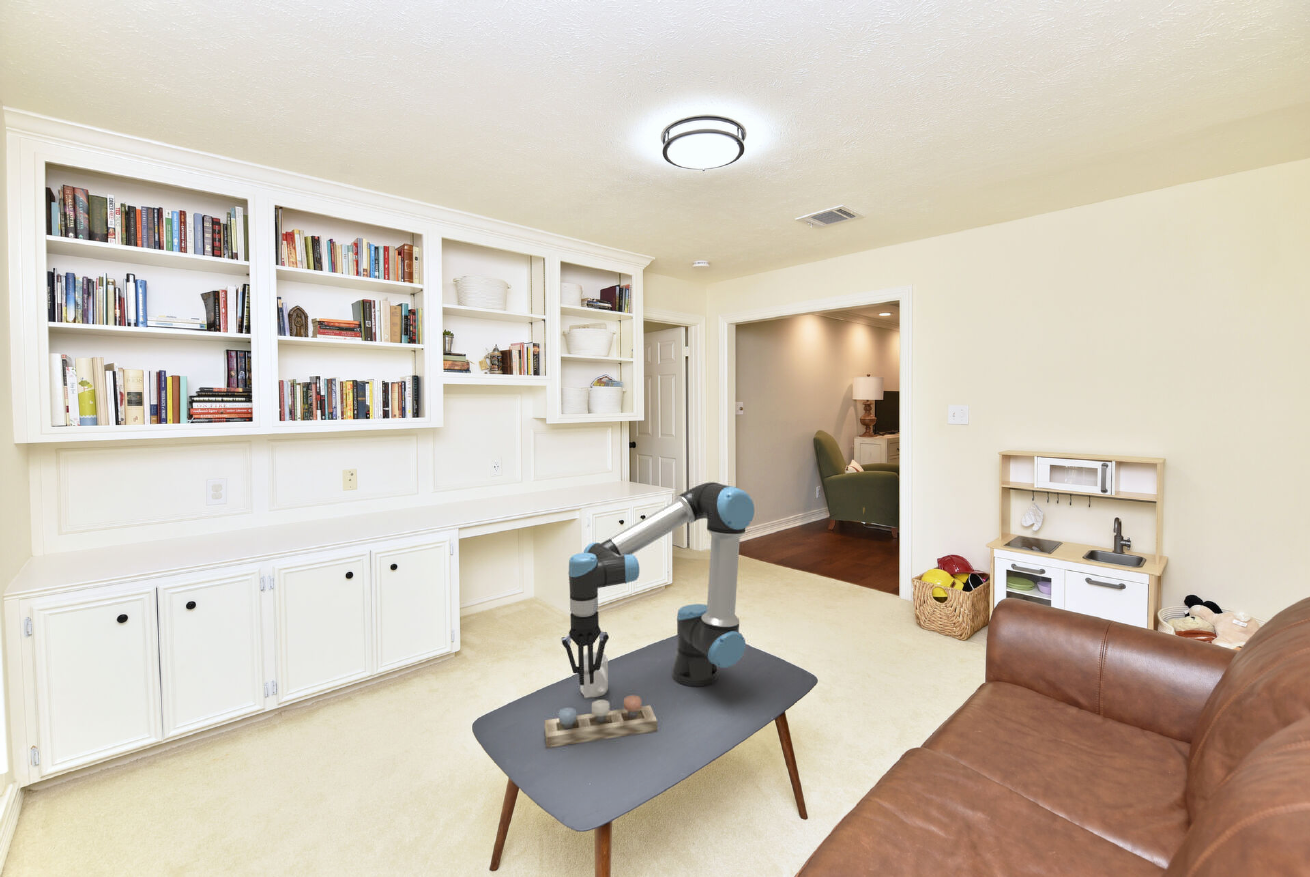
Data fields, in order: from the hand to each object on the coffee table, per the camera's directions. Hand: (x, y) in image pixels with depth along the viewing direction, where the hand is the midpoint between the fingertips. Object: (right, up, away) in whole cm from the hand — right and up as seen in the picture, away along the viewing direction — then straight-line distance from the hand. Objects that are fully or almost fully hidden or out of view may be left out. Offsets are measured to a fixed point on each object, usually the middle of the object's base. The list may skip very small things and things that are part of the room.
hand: (586, 695), depth 159 cm
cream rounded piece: (+4, -8, +1) cm, 8 cm away
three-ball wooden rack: (+4, -11, +2) cm, 11 cm away
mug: (+1, -9, +21) cm, 23 cm away
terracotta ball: (+12, -7, +4) cm, 15 cm away
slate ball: (-5, -9, -1) cm, 10 cm away
